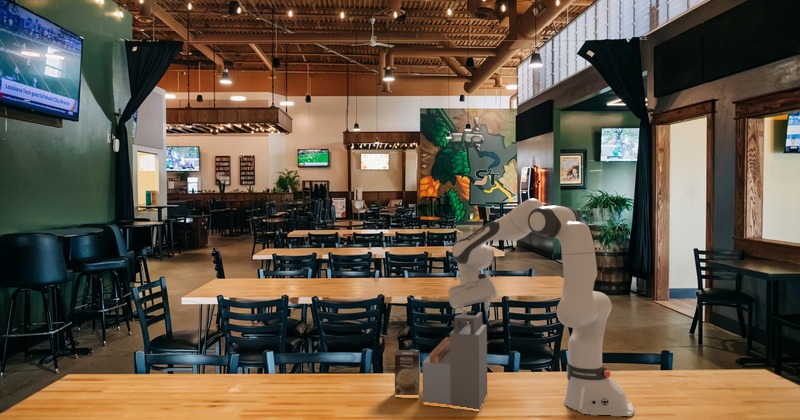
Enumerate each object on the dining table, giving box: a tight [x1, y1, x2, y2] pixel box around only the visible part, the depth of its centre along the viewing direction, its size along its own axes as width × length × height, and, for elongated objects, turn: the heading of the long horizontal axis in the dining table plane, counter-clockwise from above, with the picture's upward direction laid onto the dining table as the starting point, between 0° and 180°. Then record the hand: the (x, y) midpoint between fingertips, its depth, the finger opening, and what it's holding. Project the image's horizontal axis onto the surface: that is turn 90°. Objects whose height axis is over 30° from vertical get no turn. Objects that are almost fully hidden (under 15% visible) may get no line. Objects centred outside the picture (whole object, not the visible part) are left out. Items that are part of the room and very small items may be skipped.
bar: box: [429, 336, 450, 363], centre depth 192 cm, size 3×24×3 cm, turn 161°
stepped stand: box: [421, 310, 488, 411], centre depth 186 cm, size 20×16×32 cm
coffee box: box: [394, 349, 421, 396], centre depth 191 cm, size 9×6×16 cm
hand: (476, 312), depth 211 cm, fingers open, 8 cm apart
